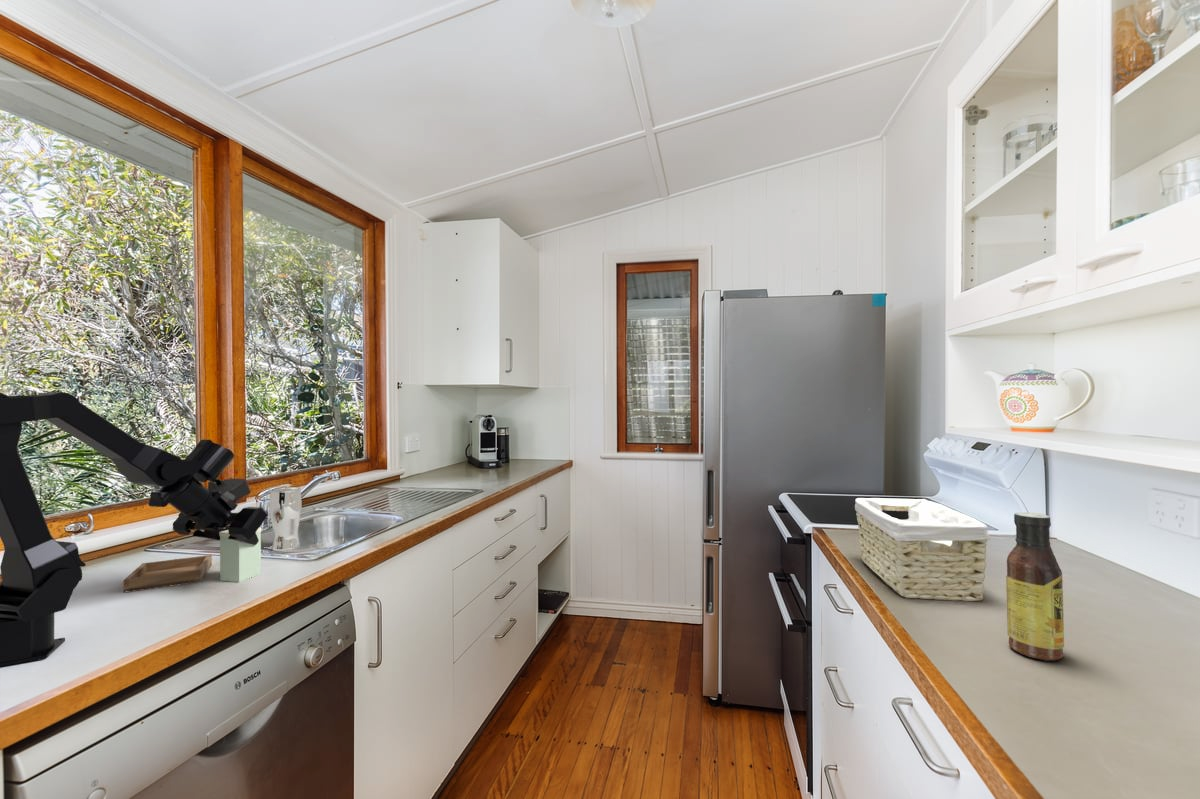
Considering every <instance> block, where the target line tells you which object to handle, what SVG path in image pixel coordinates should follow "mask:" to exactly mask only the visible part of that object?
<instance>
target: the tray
mask: <svg viewBox="0 0 1200 799" xmlns="http://www.w3.org/2000/svg"><path fill="white" fill-rule="evenodd" d="M212 556H213V555H212V554H210V555H209V554H207V555H201V556H200V555H199V556H191V557H184V558H175V559H167V560H166V559H165V560H161V561H160V560H159V561H158V560H157V561H151V562H143V563H141V564H140V565H139V566H138V567H136V568H135V570H133V571H132V572H131V573H130V574H129V575H128V576H126V577H125V578H123V582H122V583H123V588H122V589H123V590H122V591H123V593H127V592H126V591H130V592H134V591H133V590H137V591H141V590H140V589H144V590H150V589H149V588H151V589H156V588H155V587H158V588H164V587H163V586H166V587H171V586H170V585H173V586H178V584H180V585H185V584H186V583H187V584H192V583H199V582H201V581H203V579H204V577H205V576H206V574H207V573H208V571H209V570H210V568H211V567H212V564H213V563H212V560H213V559H212Z"/></svg>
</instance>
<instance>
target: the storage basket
mask: <svg viewBox="0 0 1200 799" xmlns="http://www.w3.org/2000/svg"><path fill="white" fill-rule="evenodd" d="M854 501H855V502H854V503H855V504H854V510H855V511H856V513H855V514H856V520H857V525H858V535H859V547H860V548H859V549H860V554H861V560H862V561H863V562H864V564H865V565H866V566H868V567H869V569H870V570H872V571H873V572H874V573H875V574H876V575H877V576H878V577H879V578H881V580H882V581H883V582H884V583H885V584H887V586H889V587H890V588H892V589H893V591H894V592H896V593H897V594H898V595H899V596H901V597H903V598H906V599H924V600H938V601H939V600H940V601H943V600H944V601H963V602H975V601H977V602H978V601H979V602H980V601H982V600H983V599H984V590H985V584H984V583H985V579H986V574H985V572H986V568H987V561H986V559H987V554H986V553H987V544H988V541H989V540H991V536H990V533H989V529H988V528H989V527H988V526H987V525H986V524H985V523H983V522H981V521H979V520H977V519H975V518H973V517H971V516H969V515H967V514H964V513H962V512H960V511H957V510H954V509H952V508H950V507H948V506H946V505H943V504H941V503H938V502H935V501H930V500H927V499H925V498H922V499H919V498H917V499H915V498H887V497H886V498H884V497H882V498H881V497H870V498H869V497H868V498H866V497H857V498H855V500H854ZM883 511H886V512H887V511H890V512H891V511H892V512H895V511H896V512H908V514H907V516H908V518H907V519H899V518H896V517H892V516H891V515H889V514H887V513H885V512H883Z"/></svg>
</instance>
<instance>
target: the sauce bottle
mask: <svg viewBox="0 0 1200 799" xmlns="http://www.w3.org/2000/svg"><path fill="white" fill-rule="evenodd" d="M1013 519H1014V520H1013V523H1014V525H1015V532H1016V533H1015V535H1016V537H1015V542H1016V544H1015V546H1014V547H1013V548H1012V549H1011V551H1010V552H1009V554H1008V555H1007V558H1006V574H1007V575H1006V576H1005V579H1006V580H1005V581H1006V619H1007V620H1006V621H1007V623H1006V624H1007V636H1008V637H1009V638H1008V643H1009V647H1010V648H1011V649H1012V650H1014V651H1016V652H1017V653H1019V654H1021V655H1024V656H1026V657H1029V658H1033V659H1039V660H1043V661H1058V660H1061V659H1062V658H1063V656H1064V650H1063V649H1064V647H1065V629H1064V628H1065V627H1064V625H1065V624H1064V590H1063V588H1064V587H1063V586H1064V585H1063V582H1064V581H1063V571H1062V569H1061V568H1060V565H1059V563H1058V560H1057V559H1056V556H1055V554H1054V551H1053V549H1052V547H1051V543H1050V542H1051V541H1050V527H1051V526H1052V524H1051V523H1052V522H1051V516H1049V515H1046V514H1041V513H1036V512H1015V513H1014V515H1013Z"/></svg>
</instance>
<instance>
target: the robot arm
mask: <svg viewBox="0 0 1200 799" xmlns="http://www.w3.org/2000/svg"><path fill="white" fill-rule="evenodd" d="M42 420H45V421H47V422H48V423H50V424H52V425H53V426H55V427H57V428H59V429H60V430H61V431H64V432H65V433H67V434H68V435H69V436H72V437H73V438H75V439H77V440H78V441H80V442H81V443H83V444H85V445H86V446H88V447H90V448H91V449H93V450H95V451H96V452H98V453H100V454H102V455H103V456H105V457H106V458H108V459H109V460H110V461H111V462H112V463H114V465H115V467H116V469H117V471H118V472H119V473H120V474H121V475H122V476H124V477H125V478H126V479H127V480H128V481H129V482H131V483H132V484H133V485H136V486H147V487H160V488H159V489H158V490H156V491H151V492H150V494H149V495H150V496H149V497H150V498H149V500H148V507H154V508H155V507H157V508H166V507H167V506H168V505H170V506H171V507H172V508H175V510H177V511H178V512H180V513H179V514H178V515H177V516H178V517H177V518H176V519H175V520H174V521H173V522H172V531H174V532H175V533H177V534H178V535H181V536H183V535H184V536H190V535H191V533H192V531H193V533H192V536H193V537H196V538H203V539H209V540H214V541H219V542H220V536H219V532H222V531H226V530H228V534H230V536H229V537H228V539H231V540H235V541H239V542H244V543H248V544H253V545H256V544H257V543H258V541H259V540H258V537H257V535H256V531H257V530H258V528H259V527H261V526H262V524H263V523H264V522H265V520H266V518H267V517H268V516H269V514H268V512H267V511H266V510H265V509H264V508H263V507H257V506H256V507H255V506H247V507H243V508H242V509H241V510H240V511H238V512H233V511H235V509H236V508H237V507H238V506H239V505H238V504H237V502H239V501H240V500H241V499H243V498H245V497H246V496H248V495H250V494H251V493H252V491H251V489H250V486H249V484H248V482H247V480H246V479H245V478H229V479H228V478H227V479H226V478H225V479H224V480H223V479H220V478H219V476H220V475H221V474H222V473H223V472H224V470H225V469H226V468H227V467H228V466H229V465H230V463H231V462H232V461H233V460H234V459H235V454H234V452H233V451H232V450H231V449H229V448H226V447H225V446H223V445H220V444H219V443H215V442H214V441H212V440H211V439H205V438H204V439H200V441H199V442H197V444H196V446H195V448H194V449H193V450H191V452H189V454H188V455H187V456H186V457H185V458H184V459H183V458H180V457H179V456H177V455H175V454H174V453H171V452H168V451H166V450H164V449H162V448H159V447H156V446H152V445H149V444H146V443H144V442H141V441H139V440H138V439H136V438H134V437H133V436H132V435H130V434H129V433H127V432H125V431H124V430H122V429H121V428H120V427H118V426H116V425H115V424H113V423H112V422H111V421H109V420H107V419H105V418H104V417H103V416H102V415H100V414H98V413H97V412H95V411H94V410H92V409H91V408H89V407H88V406H86V405H84V404H83V403H82V402H80V401H79V399H78V398H77V397H76V396H74V395H73V394H71V393H68V392H40V393H38V394H29V395H27V394H26V395H24V394H23V395H22V394H21V395H7V394H5V393H2V392H0V540H1V542H2V545H3V547H4V552H3V555H2V559H1V561H0V562H1V563H0V574H1V583H0V667H3V666H8V665H9V666H10V665H15V664H20V663H27V662H33V661H38V660H43V659H46V658H48V657H49V656H50V655H51V654H52V653H54V652H55V651H56V650H57V649H58V648H59V647H60V646H61V645H62V644H63V643H65V642H66V637H60V638H55V613H57V612H61V611H65V610H66V609H67V607H68V605H69V602H70V599H71V596H72V594H73V592H74V590H75V589H76V588H77V586H78V584H79V583H80V582H81V581H82V579H83V569H82V568H81V567H83V568H84V567H86V566H87V564H86V563H85V562H84V561H83V560H82V559H81V557H80V554H79V553H80V551H79V547H78V545H77V543H76V542H71V541H59V540H56V539H55V538H54V536H52V534H51V532H50V528H49V527H48V524H47V521H46V519H45V517H44V513H43V511H42V509H41V506H40V504H39V501H38V498H37V496H36V493H35V491H34V489H33V486H32V484H31V481H30V478H29V475H28V474H27V471H26V468H25V466H24V463H23V461H22V458H21V455H20V453H19V449H18V446H19V442H20V438H21V435H22V431H23V426H22V423H25V422H26V423H27V422H35V421H42ZM203 483H207V487H206V486H205V485H203Z"/></svg>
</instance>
